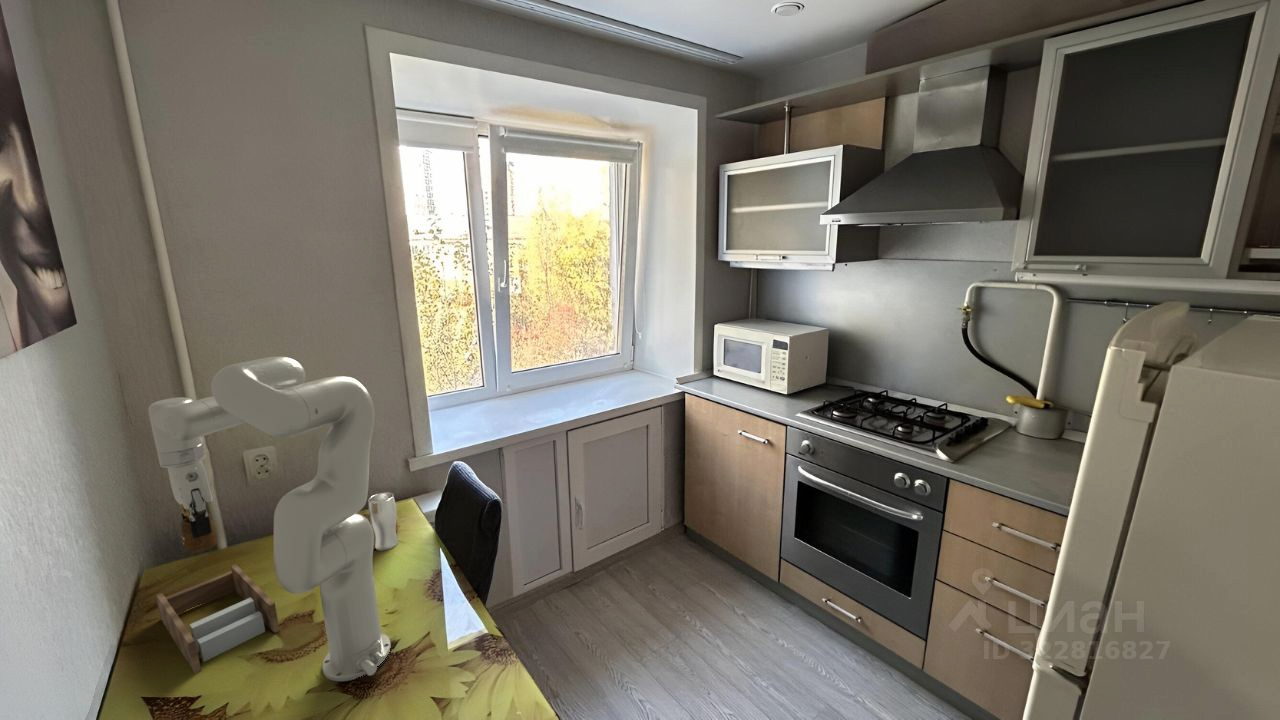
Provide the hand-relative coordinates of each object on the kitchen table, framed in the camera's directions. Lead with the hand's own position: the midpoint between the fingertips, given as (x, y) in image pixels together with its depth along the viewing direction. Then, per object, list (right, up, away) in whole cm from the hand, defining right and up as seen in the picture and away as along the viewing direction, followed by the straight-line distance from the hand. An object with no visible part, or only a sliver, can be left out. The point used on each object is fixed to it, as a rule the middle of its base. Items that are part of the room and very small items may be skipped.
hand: (198, 530), depth 115 cm
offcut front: (+10, -24, -3) cm, 26 cm away
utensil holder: (0, -4, +1) cm, 4 cm away
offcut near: (+7, -24, 0) cm, 24 cm away
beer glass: (+25, -16, +35) cm, 46 cm away
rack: (+3, -23, +3) cm, 23 cm away
